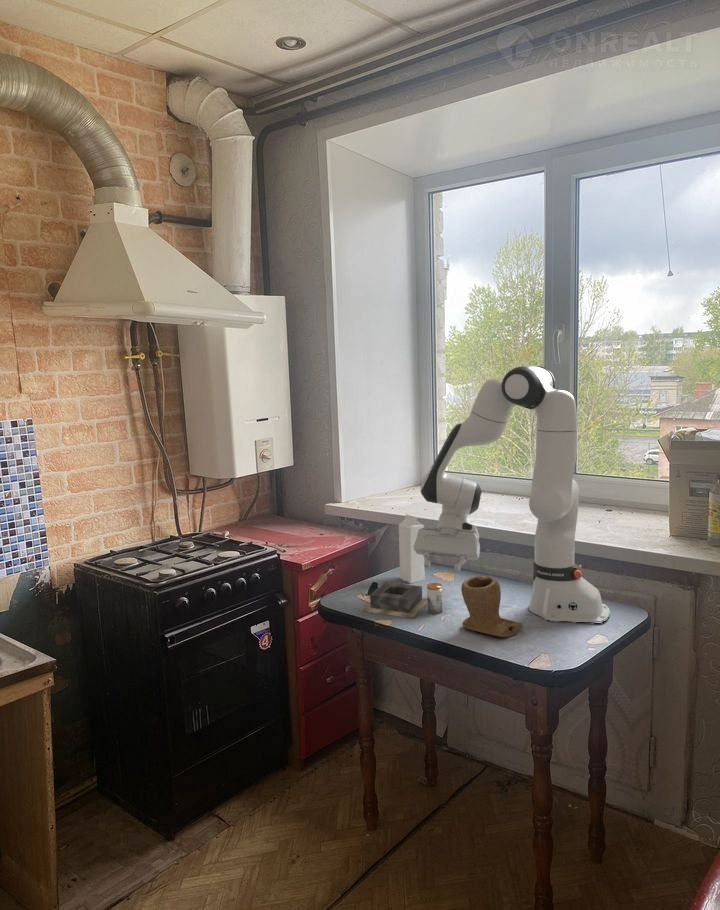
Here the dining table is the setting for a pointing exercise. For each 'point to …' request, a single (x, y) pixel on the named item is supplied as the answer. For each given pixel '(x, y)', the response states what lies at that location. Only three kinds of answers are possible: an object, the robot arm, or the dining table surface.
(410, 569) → the milk
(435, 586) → the glass jar
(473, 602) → the tan boot-shaped piece
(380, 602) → the socket board
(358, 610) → the dining table surface
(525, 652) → the dining table surface
